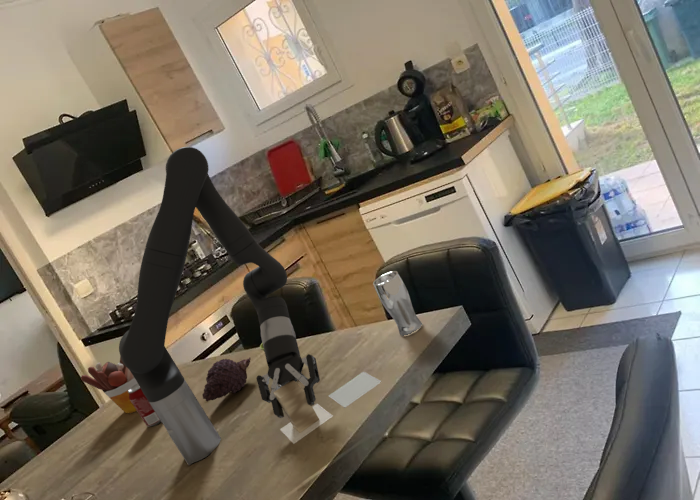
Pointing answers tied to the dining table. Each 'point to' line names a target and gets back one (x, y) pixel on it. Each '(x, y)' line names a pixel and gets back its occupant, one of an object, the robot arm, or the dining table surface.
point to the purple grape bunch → (225, 378)
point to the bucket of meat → (113, 383)
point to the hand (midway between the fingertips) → (295, 410)
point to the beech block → (296, 406)
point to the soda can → (143, 406)
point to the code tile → (296, 436)
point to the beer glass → (397, 302)
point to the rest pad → (354, 389)
